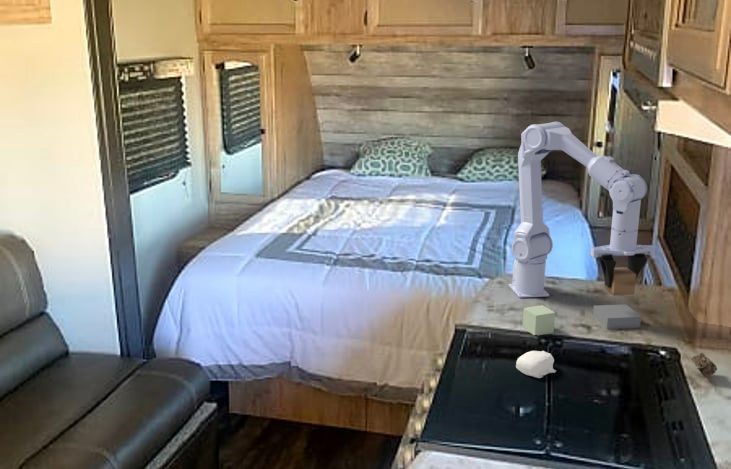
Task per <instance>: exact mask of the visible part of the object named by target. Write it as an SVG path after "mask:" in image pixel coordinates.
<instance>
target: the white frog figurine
mask: <svg viewBox="0 0 731 469" xmlns="http://www.w3.org/2000/svg"><path fill="white" fill-rule="evenodd" d="M554 362H555V359H554V356H553V355H552V353H549V352H547V351H545V350H542V351H540V350H530V351H528V352H525V353H524V354H522V355H521V356H519V357H517V360H516V362H515V363H516V364H515V367H516V369H517V371H519V372H521V373H522V374H523V375H526V376H529V377H532V378H533V377H534V378H536V379H541V378H544V376H546V375H548V374H553V373H554V374H555V373H556V372H557V370H556V369H554Z"/></svg>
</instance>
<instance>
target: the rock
mask: <svg viewBox="0 0 731 469" xmlns="http://www.w3.org/2000/svg"><path fill="white" fill-rule="evenodd" d="M689 359H690V360H691V361H692V363H693V364H694V368H695V369H696V370H698V371H699V372H700V374H701V375H702V377H704V378H705V379H707V378H708V377H711V376H712V375H714V374H715V373H716V371H717V370H718V368H717V365H716V364H715V363H714V362H713V361H712V360H711V359H710V358H708V357H707V356H706V355H705V353H703V352H700V353H699V354H697V355H694V356H693V357H689Z"/></svg>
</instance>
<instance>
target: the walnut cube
mask: <svg viewBox="0 0 731 469" xmlns="http://www.w3.org/2000/svg"><path fill="white" fill-rule="evenodd" d="M636 281H637V279H636V273H634V272H633V271H631V270H630V269H628V266H625V267H623V266H621V267H615V268H614V272H613V280H612V285H611V287H607V286H606V285H605V283H604V284H603V285H604V286H603V288H604V290H606V291H607V292H608V293H610V294H611V295H612V296H630V295H631V296H632V295H635V291H636V290H635V289H636Z"/></svg>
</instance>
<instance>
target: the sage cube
mask: <svg viewBox="0 0 731 469" xmlns="http://www.w3.org/2000/svg"><path fill="white" fill-rule="evenodd" d="M522 313H523V314H522V315H523V316H522V328H523V329H524V330H525V331H527V332H529V333H530V334H532V335H533V336H534V335H537V336H542V335H549V334H554V333H555V332H554V331H555V318H556V312H555V311H553V310H552V309H550V308H548V307H546V306H544V305H543V304H541V305H534V306H529V307H523V312H522Z"/></svg>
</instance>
